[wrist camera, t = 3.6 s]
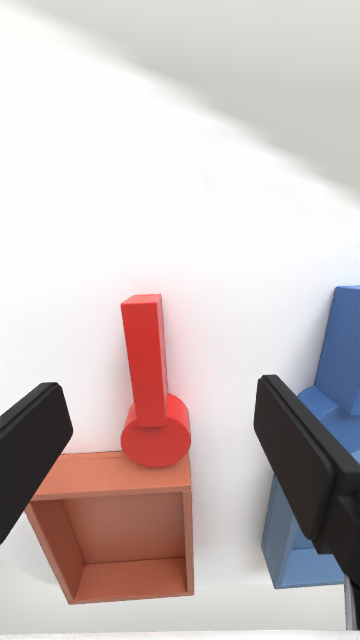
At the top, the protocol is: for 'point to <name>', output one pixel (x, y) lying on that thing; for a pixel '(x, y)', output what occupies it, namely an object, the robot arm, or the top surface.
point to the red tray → (116, 527)
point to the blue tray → (294, 548)
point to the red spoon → (151, 389)
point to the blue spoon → (339, 372)
